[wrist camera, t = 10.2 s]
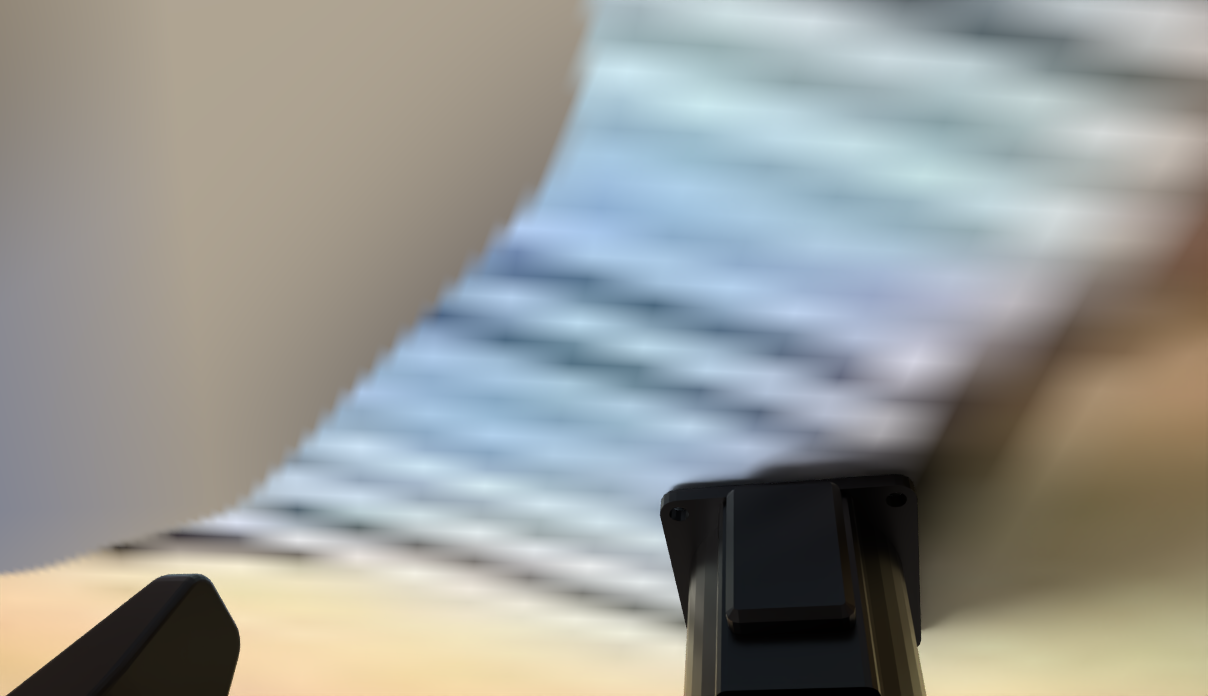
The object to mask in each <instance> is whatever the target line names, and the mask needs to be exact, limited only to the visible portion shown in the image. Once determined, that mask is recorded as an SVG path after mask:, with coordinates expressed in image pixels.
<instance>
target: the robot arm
mask: <svg viewBox="0 0 1208 696" xmlns="http://www.w3.org/2000/svg"><path fill="white" fill-rule="evenodd" d="M896 492H897V493H902V494H900V495H898V496H889V495H890V494H892V493H896ZM677 507H679V508H684V509H685V510H682V511H680V510H675V509H674V508H677ZM660 517H661V521H662V525H663V530H664V534H665V538H666V542H667V547H668V551H669V555H670V559H671V564H672V568H673V572H674V576H675V581H676V585H677V589H678V593H679V598H680V602H681V606H682V610H683V614H684V619H685V623H686V627H687V642H686V663H685V683H684V696H926V691H925V686H924V680H923V675H922V670H921V664H920V659H919V653H918V648H917V647H918V646H919V645H920V642H921V619H920V582H919V546H918V509H917V495H916V491H915V487H914V483H913V481H911V480H910V479H909V478H908V477H906V476H903V475H896V474H891V475H877V476H863V477H849V478H835V479H822V480H808V481H794V482H780V483H766V484H752V485H738V486H724V487H710V488H696V489H683V490H674V491H670V492H668V493H667V494H665V495H664V496H663V498H662V499H661V509H660ZM239 652H240V636H239V631H238V628H237V626H236V624H235V622H234V620H233V618H232V617H231V615H230V613H229V611H228V610H227V608H226V606H225V604H224V603H223V601H222V599H221V597H220V595H219V594H218V592H217V590H216V588H215V587H214V585H213V583H212V582H211V580H210V579H208V578H207V577H206V576H204V575H202V574H169V575H164V576H161V577H159V578H157V579H155V580H154V581H152V582H151V583H150V584H148V585H147V586H146V587H144V588H143V589H142V590H141V591H139V592H138V593H137V594H136V595H134V596H133V597H132V598H130V599H129V600H128V601H127V602H125V603H124V604H123V605H121V606H120V607H119V608H118V609H116V610H115V611H114V612H112V613H111V614H110V615H109V616H107V617H106V618H105V619H104V620H102V621H101V622H100V623H98V624H97V625H96V626H95V627H93V628H92V629H91V630H89V631H88V632H87V633H86V634H84V635H83V636H82V637H81V638H79V639H78V640H77V641H75V642H74V643H73V644H72V645H70V646H69V647H68V648H66V649H65V650H64V651H63V652H61V653H60V654H59V655H58V656H56V657H55V658H54V659H52V660H51V661H50V662H49V663H47V664H46V665H45V666H43V667H42V668H41V669H40V670H38V671H37V672H36V673H35V674H33V675H32V676H31V677H29V678H28V679H27V680H26V681H24V682H23V683H22V684H20V685H19V686H18V687H17V688H15V689H14V690H13V691H11V692H10V693H9V694H8V695H6V696H228V694H229V691H230V687H231V683H232V679H233V676H234V672H235V668H236V665H237V661H238V657H239Z"/></svg>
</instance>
